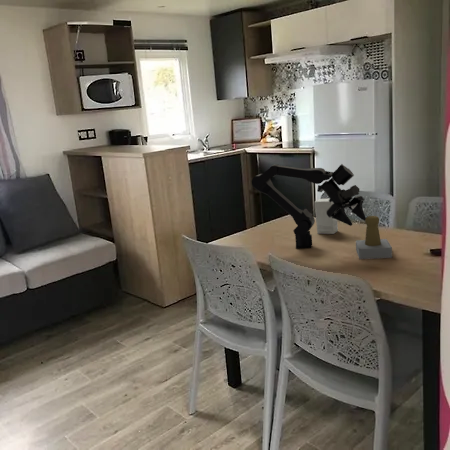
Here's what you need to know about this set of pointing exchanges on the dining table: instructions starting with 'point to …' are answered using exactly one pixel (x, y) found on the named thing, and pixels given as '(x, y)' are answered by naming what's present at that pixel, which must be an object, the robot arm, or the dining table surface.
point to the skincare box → (324, 218)
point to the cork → (372, 231)
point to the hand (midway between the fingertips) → (358, 222)
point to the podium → (373, 250)
